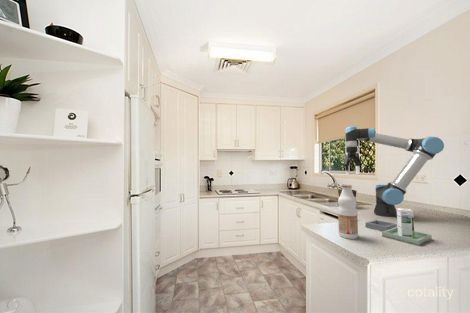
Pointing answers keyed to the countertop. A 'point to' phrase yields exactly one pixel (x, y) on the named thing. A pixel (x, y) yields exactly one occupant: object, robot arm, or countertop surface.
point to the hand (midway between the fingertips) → (352, 174)
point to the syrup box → (405, 222)
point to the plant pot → (352, 191)
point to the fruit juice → (347, 214)
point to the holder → (380, 225)
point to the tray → (418, 240)
